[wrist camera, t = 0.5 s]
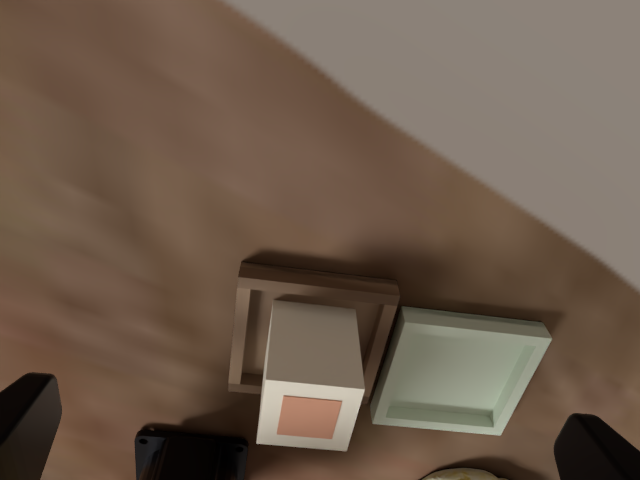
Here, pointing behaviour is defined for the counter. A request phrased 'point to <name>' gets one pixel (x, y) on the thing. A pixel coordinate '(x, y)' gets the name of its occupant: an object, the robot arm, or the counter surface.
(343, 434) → the letter block
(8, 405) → the robot arm
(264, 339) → the walnut tray
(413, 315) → the green tray
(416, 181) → the counter surface
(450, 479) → the bread roll
